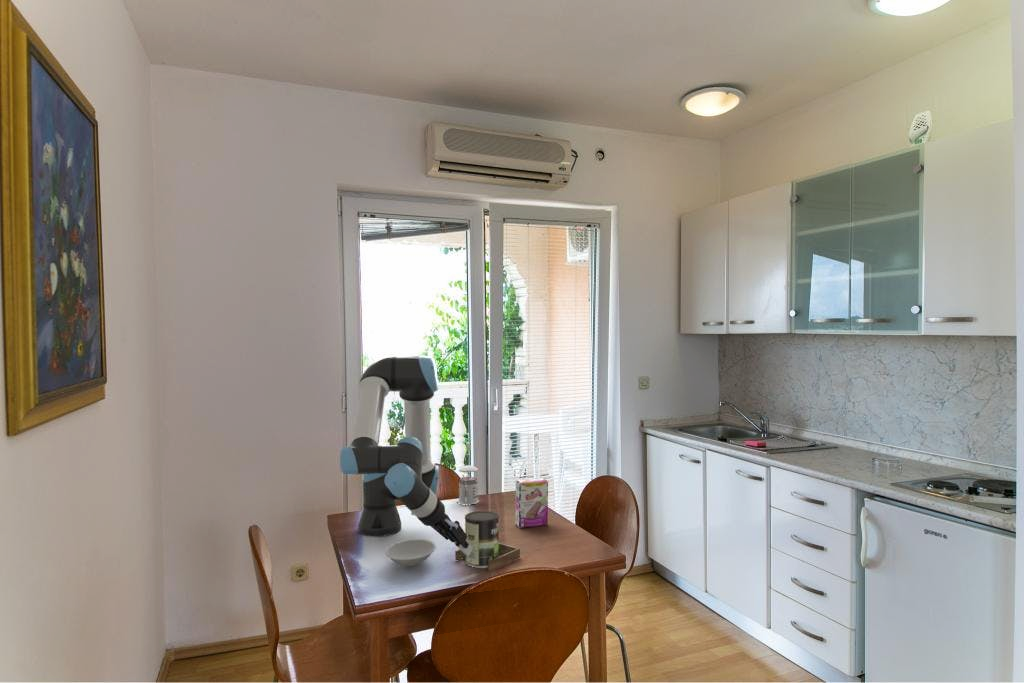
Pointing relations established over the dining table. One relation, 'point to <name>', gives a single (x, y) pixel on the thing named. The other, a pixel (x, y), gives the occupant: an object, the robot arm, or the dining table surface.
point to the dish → (410, 551)
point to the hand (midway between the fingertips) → (469, 551)
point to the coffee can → (482, 537)
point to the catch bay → (509, 556)
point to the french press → (468, 485)
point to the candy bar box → (531, 503)
